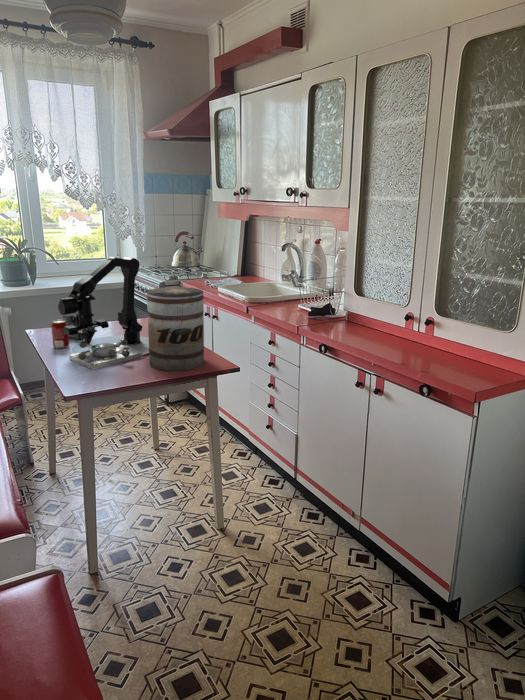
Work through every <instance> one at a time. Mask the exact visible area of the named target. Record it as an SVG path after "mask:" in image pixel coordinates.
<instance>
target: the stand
mask: <svg viewBox="0 0 525 700" xmlns="http://www.w3.org/2000/svg"><path fill="white" fill-rule="evenodd" d="M116 350H120V351H124V350H128V351H129V353H130V354H129V356H128V357H124V356H123V355H122V354H117V353H116V354H115V355H113V356H109V357H95V356H93V355H90V356H87V357H86V358H85V359H84V360H80V359H79V357H78V355H79V354H80V353H88V352H91V351H92V350H91V349H90V350H89V349H88V350H85V351H81V352H76V353H71V354H68V356H69V360H70V361H73V362H75V363H77V364H78V365H81V366H83V367H86V368H88V369H90V370H96V369H99V368H104V367H109V366H112V365H116V364H120V363H124V362H129V361H133V360H137V359H140V358H143V356H144V355H143V352H142V351H139V350H136V349H134V348H132V347H128V346H126V345H125V346H123V345H119V346H116Z"/></svg>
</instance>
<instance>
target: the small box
mask: <svg viewBox="0 0 525 700" xmlns="http://www.w3.org/2000/svg"><path fill="white" fill-rule="evenodd" d="M68 316H74V317H76V313H72V314H67V315H62V320H65V321H66V323H67V325H68V326H69V325H73V323H71V324H69V322H68ZM73 326H75V327H77V326H79V325H73ZM82 328H84V327H82ZM68 336H69V339H71V340H75V341H81V340H82V341H83V340H84V339H83V337H82V335H81V334H80V333H77V334H74V335H68Z"/></svg>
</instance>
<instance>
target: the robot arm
mask: <svg viewBox="0 0 525 700" xmlns="http://www.w3.org/2000/svg"><path fill="white" fill-rule="evenodd" d="M140 266H141V265H140V261H139V260H138V258H135V257H129V256H124V257H123V258H120V257H115V256H109V257H107V259H106V260H105V261H104V262H103V263H102V264H100V265H99V266H98V267H96V269H95V270H94V271H92V272H91V273H90V274H89V275H87V276H85V277H83V278H81V279H79V280H77V281H76V282H74V284H73V286H72V290H71V292H70V293H69V296H68V297H66V298H65V297H64V298H63V297H61V298H59V302H58V306H57V309H58V312H59V314H60V315H61V316H66V315H72V314H75V315H76V317H74V316H68V322H69V324H71V323H73V325H79V326H77V327H75V326H73V325H69V326H64V328H63V333H65V334H67V335H74V334H77V333H80V334H81V335H82V337H83V339H82V340H83V341H85V342H86V343H87V344H91V342H92V340H93V337H94V336H95V333H96V332H98V330H97V329H96V328H98V327H99V328H102V329H106V328H109V324H110V323H109V322H108V321H107V320H105V319H101V318H100V319H96V320H93V317H94V316H95V314H94V313H93V309H92V301H95V300H96V297H95V296H93V294H92V293H93V292H94V291H95V289H96V287H97V285H98V284H99V282H100V281H102V280H103V279H104V278H105V277H106V276H108V274H110V273H111V272H112V271H113V270H114V269H115V268H117V267H119V268H120V270H121V273H122V275H123V276H122V277H123V294H122V295H123V297H122V299H123V300H122V309H121V311H118V312H117V321H118V324H119V325H120V326H121V328H122V330H124V333H123V339H126V340H127V344H126V345H129V346H134V345H139V344H143V341H142V340H141V333H140V332H142V331H143V326H142V324H140V322H138V318H137V317H138V316H137V314H136V311H135V290H136V289H135V288H136V277H137V275H138V274H139V269H140ZM82 327H84V328H82Z"/></svg>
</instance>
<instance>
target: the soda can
mask: <svg viewBox="0 0 525 700" xmlns="http://www.w3.org/2000/svg"><path fill="white" fill-rule="evenodd" d="M50 326H51V327H50V328H51V337H52V346H53V348H55V349H66V348H68V347H69V346H70V338H69V336H68V335H67V334H65V333H63V328H64V326H68V325H67V323H66V321H65V320H64V319H54V320H52V323H51V325H50Z"/></svg>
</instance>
